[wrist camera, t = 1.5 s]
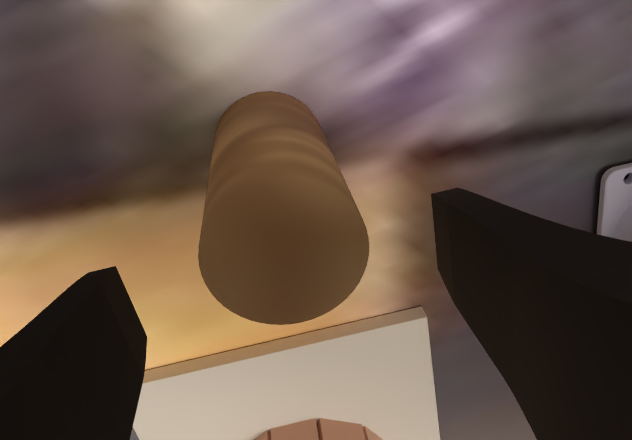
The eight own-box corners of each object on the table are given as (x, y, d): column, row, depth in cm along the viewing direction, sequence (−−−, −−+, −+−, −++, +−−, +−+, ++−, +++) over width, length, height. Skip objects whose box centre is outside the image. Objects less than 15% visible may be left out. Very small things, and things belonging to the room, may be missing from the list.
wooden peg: (311, 80, 18) (355, 159, 11) (330, 182, 20) (379, 303, 13) (200, 104, 18) (175, 200, 11) (230, 204, 20) (225, 339, 13)
